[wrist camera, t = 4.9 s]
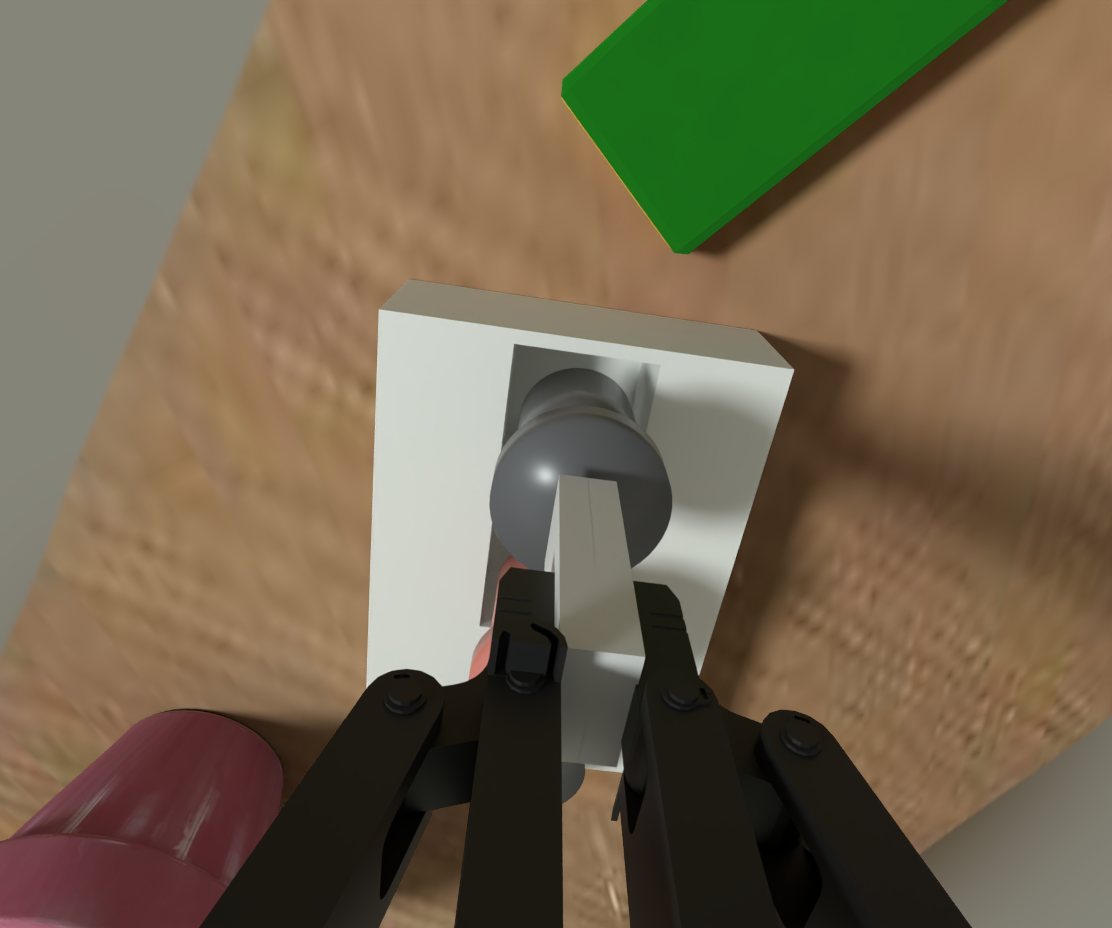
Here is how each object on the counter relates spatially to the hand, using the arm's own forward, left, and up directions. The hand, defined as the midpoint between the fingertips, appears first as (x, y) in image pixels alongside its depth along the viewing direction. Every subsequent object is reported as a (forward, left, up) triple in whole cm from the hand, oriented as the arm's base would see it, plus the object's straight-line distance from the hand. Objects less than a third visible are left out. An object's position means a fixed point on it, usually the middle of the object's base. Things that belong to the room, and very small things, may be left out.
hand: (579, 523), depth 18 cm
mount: (0, +7, -12) cm, 14 cm away
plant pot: (+17, +26, -12) cm, 33 cm away
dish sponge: (-5, -13, -13) cm, 19 cm away
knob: (0, 0, -7) cm, 7 cm away
